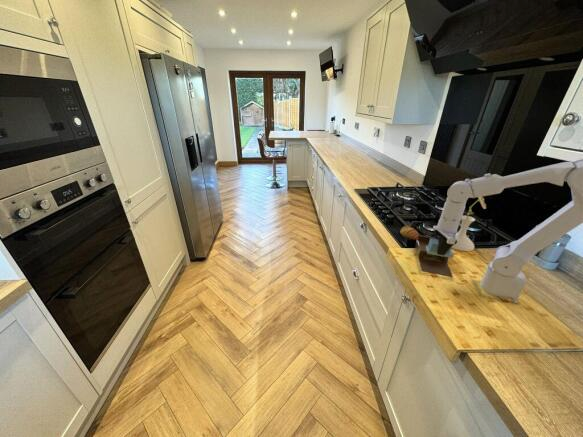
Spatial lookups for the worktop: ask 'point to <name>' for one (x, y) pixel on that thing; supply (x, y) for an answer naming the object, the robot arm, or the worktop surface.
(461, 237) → the flower in vase
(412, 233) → the pastry
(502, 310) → the worktop surface
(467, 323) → the worktop surface
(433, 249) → the blue-grey block
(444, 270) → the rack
